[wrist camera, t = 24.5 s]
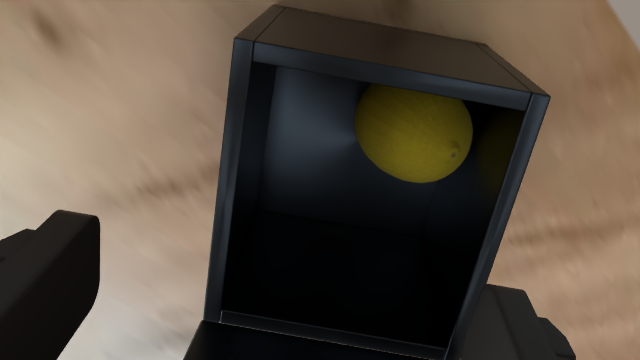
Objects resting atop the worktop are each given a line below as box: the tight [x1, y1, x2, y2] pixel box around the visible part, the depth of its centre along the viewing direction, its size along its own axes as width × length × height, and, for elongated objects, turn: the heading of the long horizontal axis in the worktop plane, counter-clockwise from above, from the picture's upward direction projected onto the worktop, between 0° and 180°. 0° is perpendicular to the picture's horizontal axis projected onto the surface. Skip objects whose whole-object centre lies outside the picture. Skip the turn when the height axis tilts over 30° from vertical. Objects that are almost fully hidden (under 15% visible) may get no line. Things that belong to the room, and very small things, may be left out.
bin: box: [203, 5, 551, 360], centre depth 30 cm, size 14×13×12 cm
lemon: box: [354, 83, 473, 183], centre depth 30 cm, size 6×6×8 cm
